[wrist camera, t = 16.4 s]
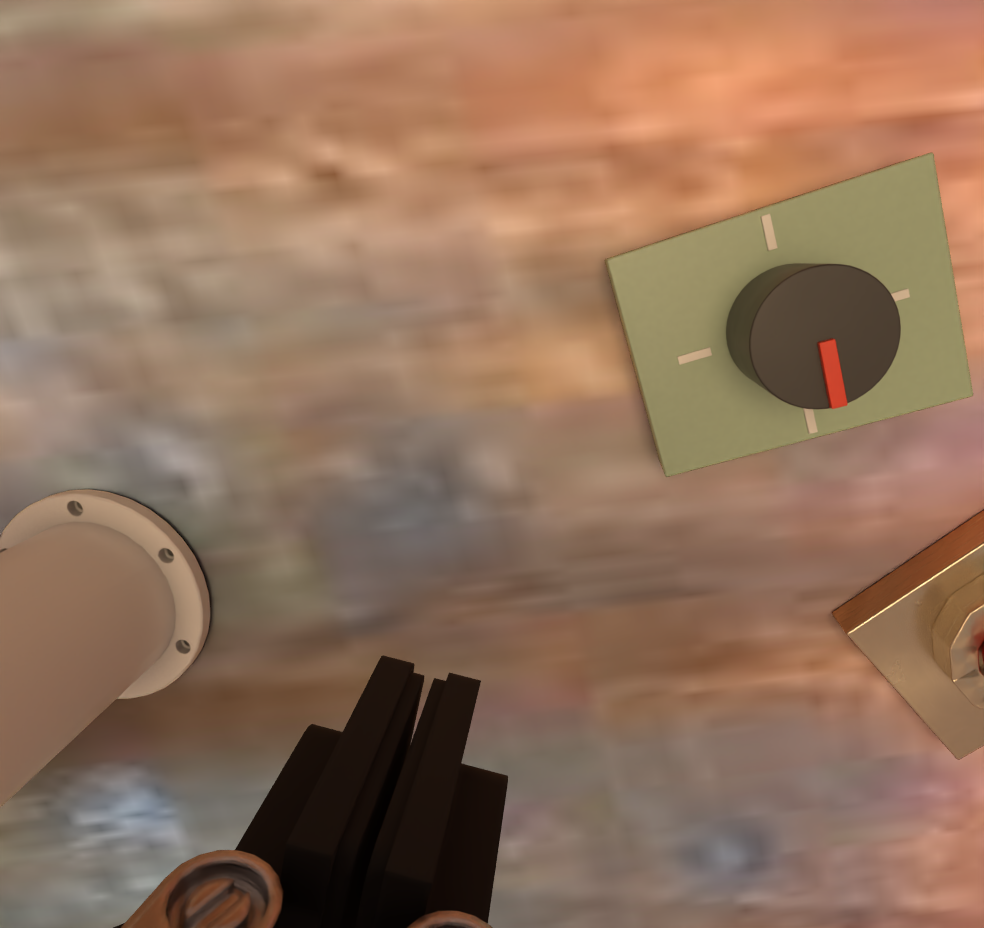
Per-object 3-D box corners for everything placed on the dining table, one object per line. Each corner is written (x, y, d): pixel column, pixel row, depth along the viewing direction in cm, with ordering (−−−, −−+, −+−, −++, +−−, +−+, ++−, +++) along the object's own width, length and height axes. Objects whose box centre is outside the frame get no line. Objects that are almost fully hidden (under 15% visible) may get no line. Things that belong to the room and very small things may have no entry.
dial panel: (659, 460, 35) (666, 478, 32) (604, 259, 33) (606, 259, 30) (940, 384, 33) (976, 396, 30) (901, 161, 31) (936, 150, 28)
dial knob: (713, 284, 30) (737, 289, 25) (843, 246, 29) (892, 243, 24) (740, 403, 31) (767, 427, 27) (865, 369, 30) (916, 389, 26)
